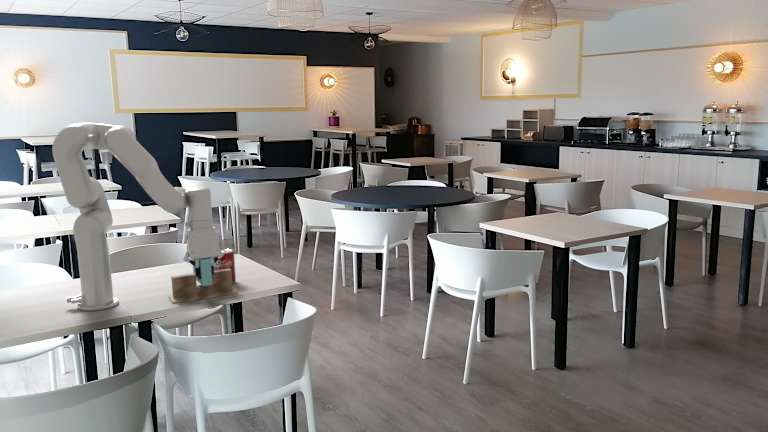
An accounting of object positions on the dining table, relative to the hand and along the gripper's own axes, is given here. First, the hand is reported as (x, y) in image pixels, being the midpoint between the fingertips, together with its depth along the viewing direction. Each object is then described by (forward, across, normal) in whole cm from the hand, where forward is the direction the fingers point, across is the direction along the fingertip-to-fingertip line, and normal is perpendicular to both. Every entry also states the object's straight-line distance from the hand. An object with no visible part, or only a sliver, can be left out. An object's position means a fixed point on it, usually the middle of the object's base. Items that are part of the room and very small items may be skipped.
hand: (204, 276), depth 225 cm
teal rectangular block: (+2, 0, +4) cm, 4 cm away
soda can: (+8, +11, +16) cm, 21 cm away
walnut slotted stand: (+8, 0, +4) cm, 9 cm away
